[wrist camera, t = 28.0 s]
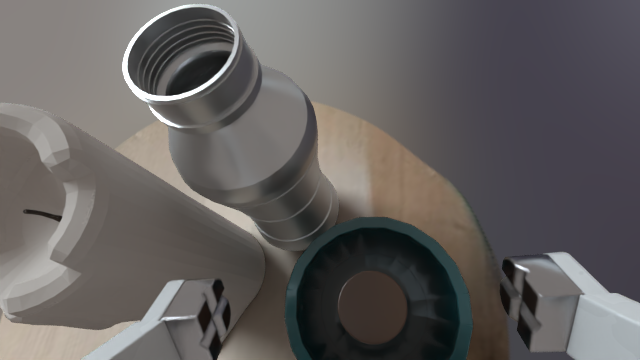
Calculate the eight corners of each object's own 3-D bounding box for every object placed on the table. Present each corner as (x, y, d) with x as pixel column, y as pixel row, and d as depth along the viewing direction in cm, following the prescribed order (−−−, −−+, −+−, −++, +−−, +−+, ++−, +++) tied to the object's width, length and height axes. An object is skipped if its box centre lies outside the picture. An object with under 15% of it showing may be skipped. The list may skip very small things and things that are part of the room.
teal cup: (459, 323, 24) (516, 334, 15) (360, 400, 23) (355, 463, 14) (383, 226, 27) (390, 185, 18) (293, 290, 26) (252, 282, 17)
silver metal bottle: (252, 206, 29) (52, 37, 11) (317, 167, 30) (234, -60, 11) (286, 271, 27) (106, 196, 9) (357, 227, 28) (332, 64, 9)
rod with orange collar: (390, 272, 25) (412, 237, 12) (405, 330, 24) (448, 359, 11) (338, 284, 25) (305, 260, 12) (349, 341, 24) (327, 383, 11)
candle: (109, 353, 27) (-480, 458, 8) (219, 211, 30) (-28, 53, 11) (170, 417, 24) (-448, 763, 6) (282, 257, 27) (105, 156, 9)
